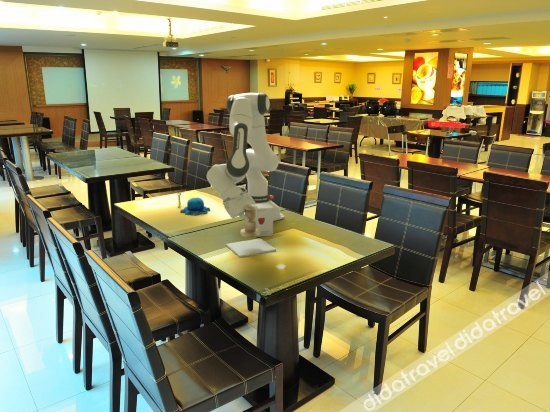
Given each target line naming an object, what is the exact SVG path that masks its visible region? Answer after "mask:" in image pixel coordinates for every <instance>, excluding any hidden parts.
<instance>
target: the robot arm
mask: <svg viewBox="0 0 550 412" xmlns="http://www.w3.org/2000/svg"><path fill="white" fill-rule="evenodd" d="M269 98H270V97H269V96H268V95H267V94H266V93H265V92H246V93H238V94H231V95H229V96H228V97H227V99H226V110H227V113H229V121H228V122H229V123H228V124H229V126H228V127H229V133H230V134H231V135H232V137H233V139H232V148H231V153H230V154H229V157H227V160H226V163H222V164H217V163H216V164H214V165H212V166H210V168H209V169H208V170H207V173H206V179H207V182H208V183H209V185H211V187H212V188H213V190H215V191H216V192H217V193H218V194H219V197H220V198H221V199H222V205H223V207H224V209H225V211H226V213H227V214H228V215H229V217H230V218H232V219H235V218H238V217H239V218H241V219H242V220H244V222H245V221H246V222H248V221H249V220H250V218H249V217H247V216H246V215H245V209H244V207H243V206H245V205H248V204H253V205H256V204H264V203H269V204H270V205H271V206H272V207H273V222H274V221H279V220H282V219H283V220H284V219H285V215H284V214H283V213H281V210H280V207H279V206H278V205H277V204H276V203H275V202H274V201H272V200H273V199H274V195H272V194H269V193H268V179H267V178H266V177H265V176H264V175H263V173H262V172H274V171H275V170H277V169H278V166H279V163H280V161H279V156H278V154H276V153H275V152H274V151H273V150H272V147H271V146H270V144H269V141H268V139H267V132H266V123H265V114H267V113H268V112H269V110H270V105H271V104H270V99H269ZM247 144H249V145H250V147H251V148H252V149H251V148H248V147H247ZM245 178H246V182H247V189H246V188H245V187H241V186H240V187H239V186H238V185H237V184H238V183H240V182H242V181H243V180H244V179H245Z"/></svg>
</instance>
